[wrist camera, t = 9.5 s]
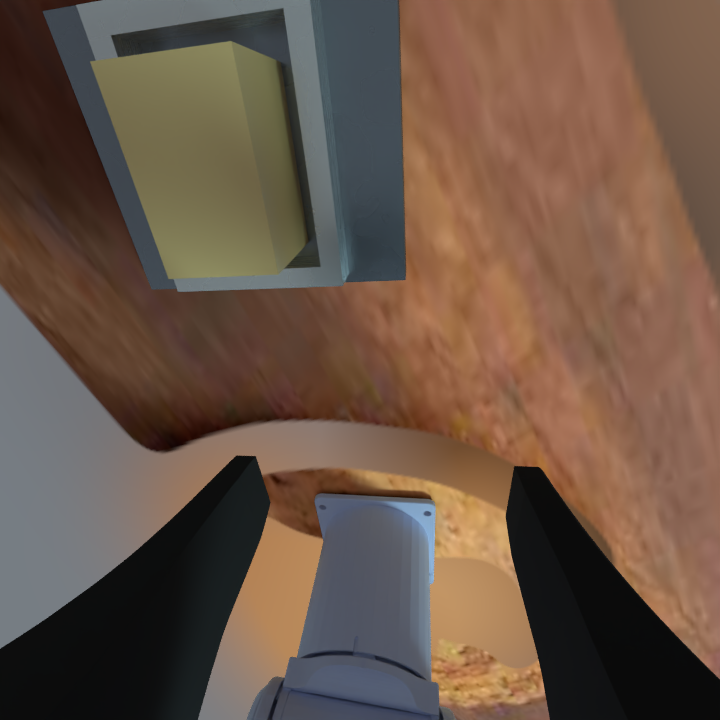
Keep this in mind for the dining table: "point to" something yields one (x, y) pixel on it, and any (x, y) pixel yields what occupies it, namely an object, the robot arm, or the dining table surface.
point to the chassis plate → (306, 113)
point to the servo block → (209, 157)
